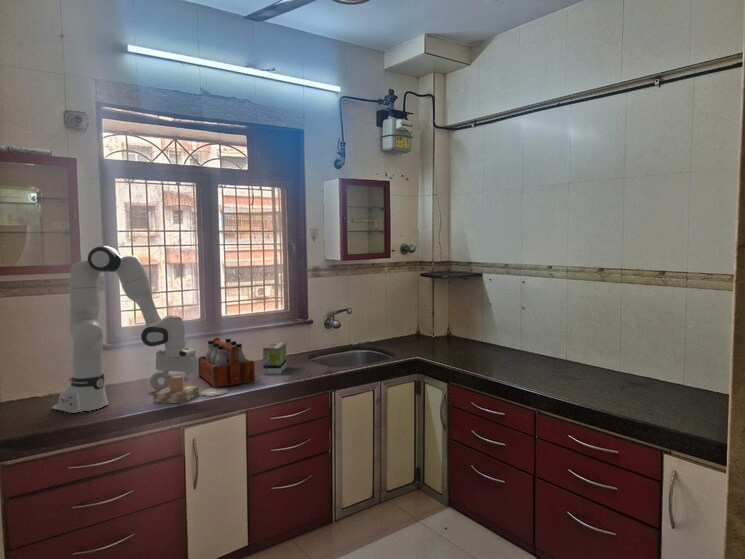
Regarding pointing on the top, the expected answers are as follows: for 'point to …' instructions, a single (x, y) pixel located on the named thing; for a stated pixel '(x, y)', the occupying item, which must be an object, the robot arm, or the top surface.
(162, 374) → the donut
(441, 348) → the top surface
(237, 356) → the milk bottle holder
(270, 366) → the tea box
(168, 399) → the holder
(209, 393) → the coaster
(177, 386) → the peg
